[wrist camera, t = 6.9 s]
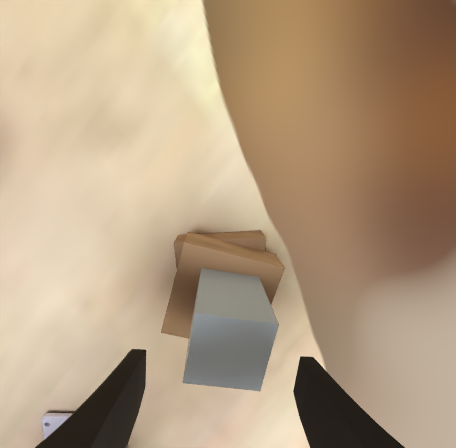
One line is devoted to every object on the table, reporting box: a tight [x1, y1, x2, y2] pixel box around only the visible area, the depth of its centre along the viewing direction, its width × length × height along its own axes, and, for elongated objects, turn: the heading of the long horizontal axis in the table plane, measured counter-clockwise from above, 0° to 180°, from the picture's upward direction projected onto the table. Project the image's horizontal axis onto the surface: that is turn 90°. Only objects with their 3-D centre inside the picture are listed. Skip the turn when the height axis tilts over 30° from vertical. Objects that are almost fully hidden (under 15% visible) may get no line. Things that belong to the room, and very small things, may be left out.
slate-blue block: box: [183, 268, 279, 391], centre depth 14 cm, size 4×4×5 cm
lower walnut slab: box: [174, 230, 266, 268], centre depth 20 cm, size 7×7×2 cm
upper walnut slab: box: [161, 232, 285, 338], centre depth 18 cm, size 7×7×2 cm
